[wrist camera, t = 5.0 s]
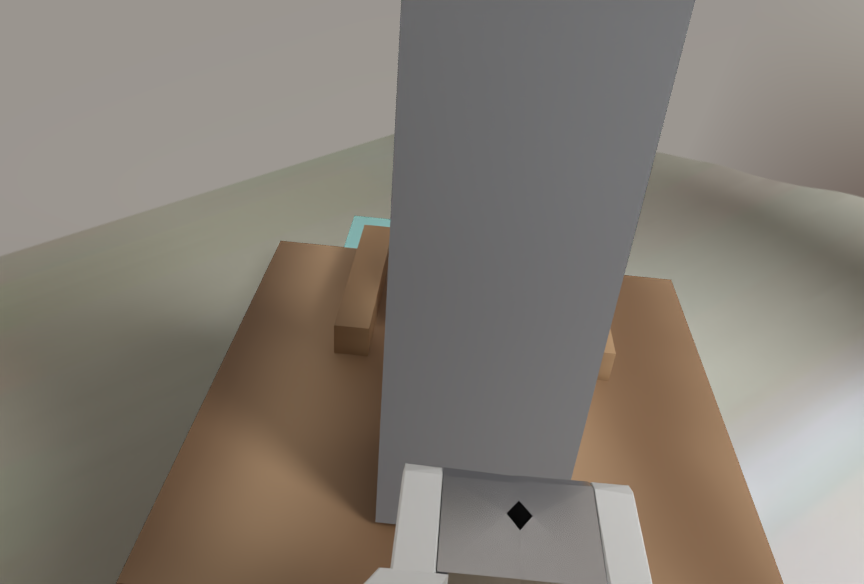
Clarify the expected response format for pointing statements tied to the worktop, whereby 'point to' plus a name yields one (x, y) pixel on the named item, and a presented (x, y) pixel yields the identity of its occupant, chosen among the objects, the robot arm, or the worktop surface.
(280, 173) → the worktop surface
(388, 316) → the dome-capped grey pillar
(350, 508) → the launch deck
